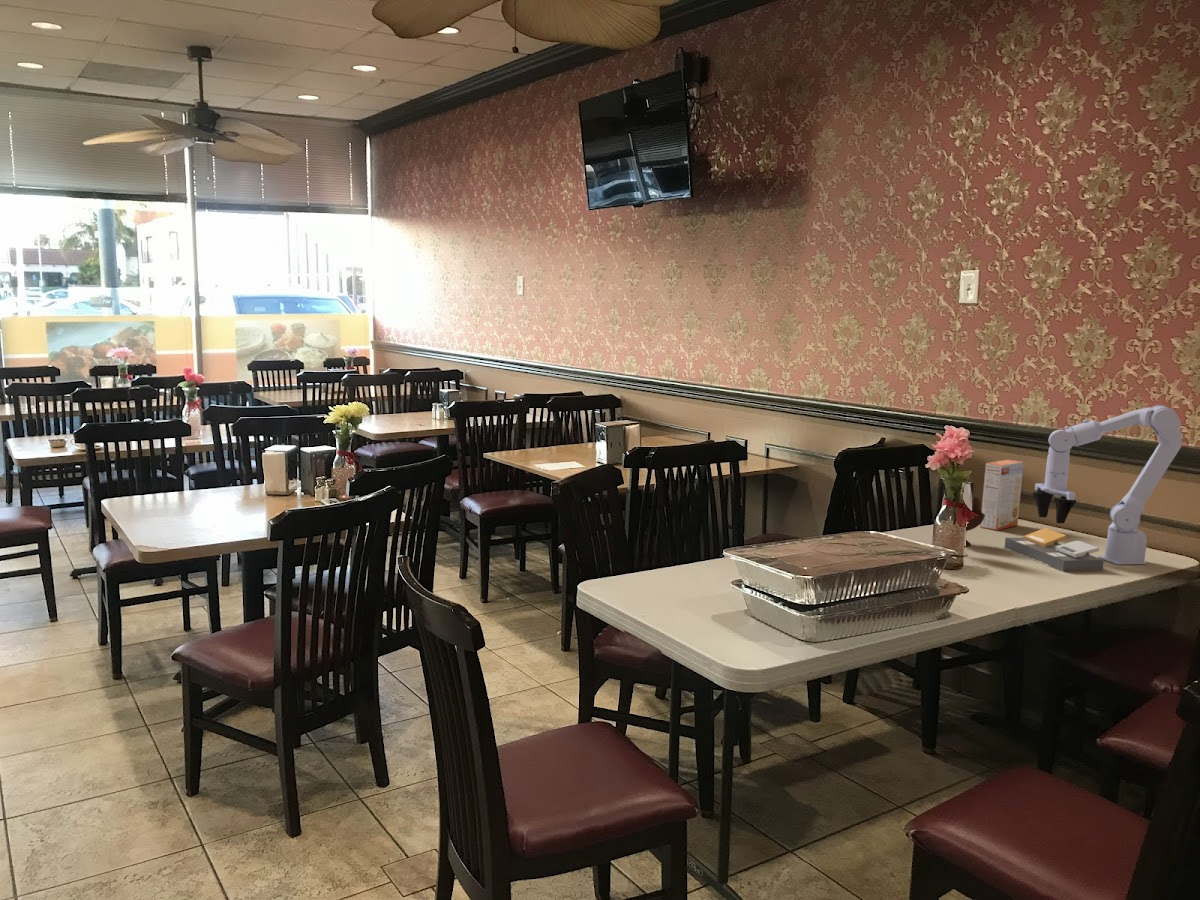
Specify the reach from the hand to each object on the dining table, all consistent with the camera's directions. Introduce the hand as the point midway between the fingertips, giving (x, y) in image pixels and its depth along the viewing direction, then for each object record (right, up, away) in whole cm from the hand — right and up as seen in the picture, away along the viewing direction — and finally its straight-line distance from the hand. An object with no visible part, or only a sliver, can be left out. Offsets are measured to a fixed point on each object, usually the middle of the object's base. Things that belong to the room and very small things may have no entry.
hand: (1051, 520), depth 269 cm
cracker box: (-1, -5, +34) cm, 34 cm away
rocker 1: (-2, -5, -1) cm, 6 cm away
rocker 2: (+1, -7, -13) cm, 15 cm away
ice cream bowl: (-23, -8, +7) cm, 25 cm away
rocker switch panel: (-1, -10, -6) cm, 12 cm away
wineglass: (-30, -9, -5) cm, 31 cm away
